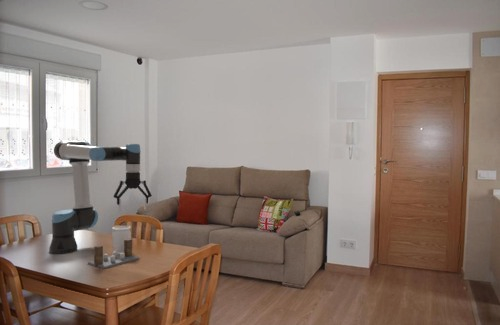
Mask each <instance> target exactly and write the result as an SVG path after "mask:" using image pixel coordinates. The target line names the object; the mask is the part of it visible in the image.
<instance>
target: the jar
mask: <svg viewBox="0 0 500 325" xmlns="http://www.w3.org/2000/svg"><path fill="white" fill-rule="evenodd" d="M131 229H132V226H131V225H116V226H112V227H111V230H112V234H111V236H112V237H111V240H112V241H111V242H112V247H113V250H114V252H117V255H118V254H120V253H124V240H125V239H132V235H131V234H132V233H131Z"/></svg>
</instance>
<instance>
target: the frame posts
mask: <svg viewBox="0 0 500 325" xmlns="http://www.w3.org/2000/svg"><path fill="white" fill-rule="evenodd" d="M93 252H94V253H93V255H94V256H93V258H94V260H93V261H94V267H97V268H99V267H98V265H99V264H103V254H104V246H103V245H99V244H98V245H95V246H94V247H93ZM124 253H125V256H126V257H129V256H133V239H132V238H131V239H125V240H124Z"/></svg>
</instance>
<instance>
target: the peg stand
mask: <svg viewBox="0 0 500 325" xmlns="http://www.w3.org/2000/svg"><path fill="white" fill-rule="evenodd" d="M139 259H140V256H135V255H132V256H129V257H126V256H125V253H120V254H118V255H117V252H115V251H112V255H110V256H109V254H108V253H103V264H99V265H98V267H97V268H102V269H104V270H105V269H109V268H112V267H115V266H118V265H123V264H126V263H130V262H132V261H133V262H134V261H136V260H137V261H138V260H139ZM87 265H91V266H94V260H92V261H88V262H87ZM94 267H95V266H94Z"/></svg>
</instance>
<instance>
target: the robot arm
mask: <svg viewBox="0 0 500 325" xmlns="http://www.w3.org/2000/svg"><path fill="white" fill-rule="evenodd" d="M53 154H54V155H55V157H56V158H57V159H59V160H62V161H68V164H69V165H70V166H71V168H72V180H73V193H74V194H73V196H74V206H73V207H72V209H71V208H70V209H62V210H58V211H55V212H54V213H53V214H52V216H51V217H52V218H51V232H52V234H51V235H52V238H51V242H50V245H49V246H48V247H49V248H48V252H49V254H55V255H57V254H58V255H59V254H61V255H62V254H68V253H69V254H70V253H74V252H76V251H78V243H77V241H76V238H75V232H77V231H81V230H89V229H91V228H94V227H95V226H96V224H97V223H98V220H99V214H98V212H97V209H95V208H94V206H93V204H91V198H90V197H91V196H90V186H89V185H90V184H89V181H90V180H89V172H88V171H89V169H88V166H89V163H90V162H91V161H93V162H94V161H95V162H104V161H105V162H107V161H108V162H109V161H124V162H125V171H126V172H125V180H119V185H118V186H117V188H116V190H115V193H114V194H113V198H114V199H116V204H117V205H118V211H119V212H122V198H121V197H122V196H123V195H124V194H125V193H126V192H127V190H128V189H130V190H132V189H134V190H136V189H138V190H139V191H140V192H141V193H142V195H143V196H144V197H143V210H144V211H146V210H147V204H148V203H149V198H150V197H151V198H152V196H153V195H152V192H151V191H150V189H149V188H148V186H147V181H146V180H145V179H143V180H141V172H140V171H141V145H140V144H139V143H126V145H125V146H95V145H94V146H93V145H91V144H90V143H89V142H88V141H84V140H61V141H59V142H57V143H56V144H55V145H54V147H53ZM90 160H91V161H90ZM141 184H142V185H143V187H144V189H145V191H144V189H143V188H141V186H140V185H141ZM124 185H126V186H125V187H124V188H123V189H122V187H123V186H124ZM121 189H122V190H121ZM120 191H121V192H120Z"/></svg>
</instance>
